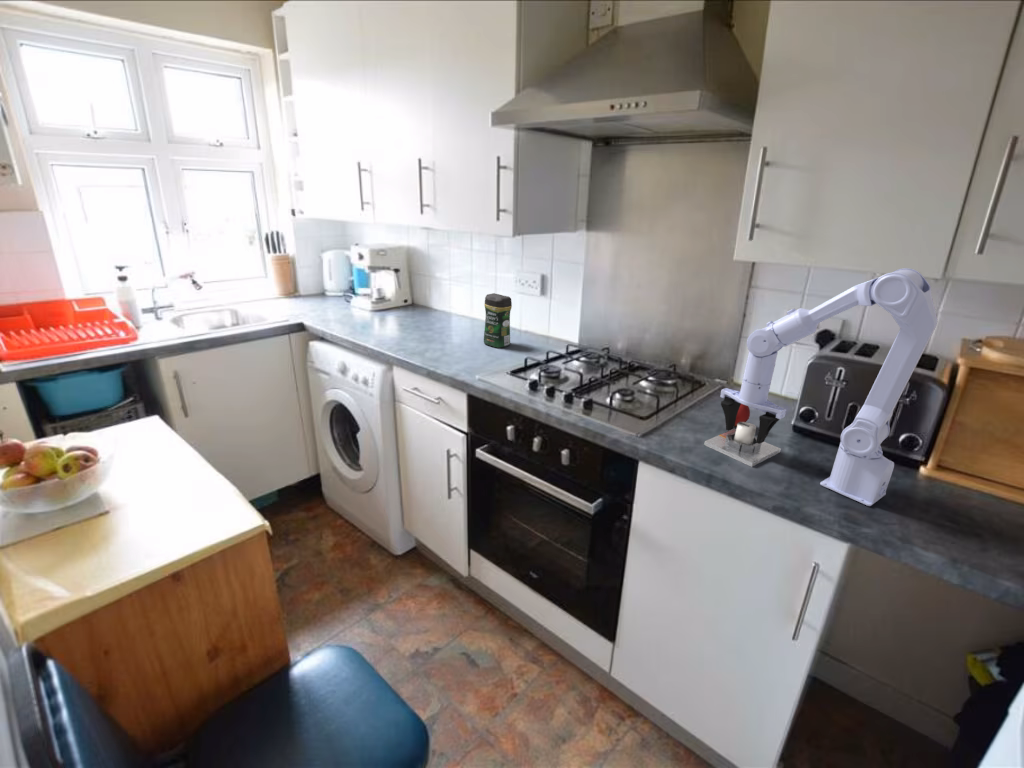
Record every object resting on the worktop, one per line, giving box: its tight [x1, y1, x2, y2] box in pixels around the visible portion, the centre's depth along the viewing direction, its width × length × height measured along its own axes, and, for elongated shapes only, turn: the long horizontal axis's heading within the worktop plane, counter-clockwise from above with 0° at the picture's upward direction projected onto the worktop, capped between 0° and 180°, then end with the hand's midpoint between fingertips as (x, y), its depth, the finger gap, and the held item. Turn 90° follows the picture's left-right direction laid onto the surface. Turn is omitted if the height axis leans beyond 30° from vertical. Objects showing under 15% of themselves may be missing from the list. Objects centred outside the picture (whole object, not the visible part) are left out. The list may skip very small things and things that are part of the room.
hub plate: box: [703, 428, 782, 468], centre depth 121 cm, size 12×12×2 cm
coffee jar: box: [483, 292, 513, 349], centre depth 188 cm, size 10×8×19 cm
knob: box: [734, 421, 757, 445], centre depth 120 cm, size 4×4×5 cm
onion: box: [734, 404, 751, 427], centre depth 132 cm, size 6×6×8 cm
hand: (744, 435), depth 120 cm, fingers open, 7 cm apart
